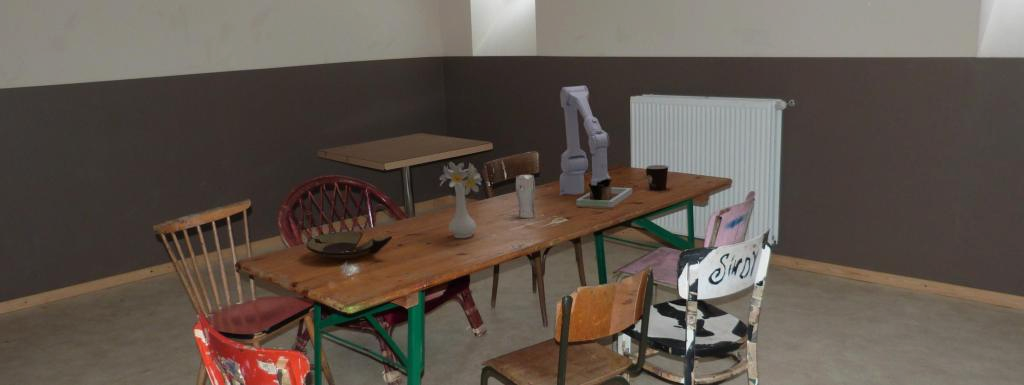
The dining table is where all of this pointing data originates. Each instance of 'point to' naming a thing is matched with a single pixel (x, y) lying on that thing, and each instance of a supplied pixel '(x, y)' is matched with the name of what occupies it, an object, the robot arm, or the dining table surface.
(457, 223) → the flower vase
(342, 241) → the oil lamp
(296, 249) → the dining table surface
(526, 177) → the beer glass
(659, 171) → the coffee mug
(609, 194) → the cardboard box
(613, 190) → the bay
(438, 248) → the dining table surface
